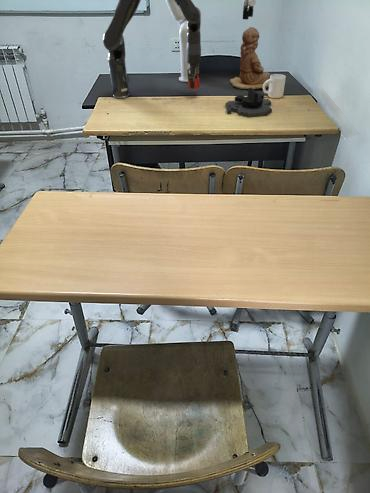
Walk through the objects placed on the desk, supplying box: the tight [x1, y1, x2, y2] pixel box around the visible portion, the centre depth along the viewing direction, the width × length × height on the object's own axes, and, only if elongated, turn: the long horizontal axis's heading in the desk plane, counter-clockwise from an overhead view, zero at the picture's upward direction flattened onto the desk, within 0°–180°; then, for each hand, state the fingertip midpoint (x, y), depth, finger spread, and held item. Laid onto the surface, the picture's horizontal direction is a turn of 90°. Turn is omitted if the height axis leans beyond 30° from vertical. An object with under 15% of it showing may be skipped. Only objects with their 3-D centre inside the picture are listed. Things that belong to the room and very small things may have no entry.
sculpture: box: [229, 26, 271, 90], centre depth 208 cm, size 27×24×30 cm
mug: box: [262, 73, 287, 99], centre depth 195 cm, size 12×8×10 cm
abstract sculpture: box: [224, 88, 273, 118], centre depth 181 cm, size 25×9×20 cm
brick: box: [187, 78, 201, 90], centre depth 197 cm, size 5×5×4 cm
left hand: (194, 86), depth 198 cm, fingers closed on brick, 5 cm apart
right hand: (247, 17), depth 204 cm, fingers open, 9 cm apart
